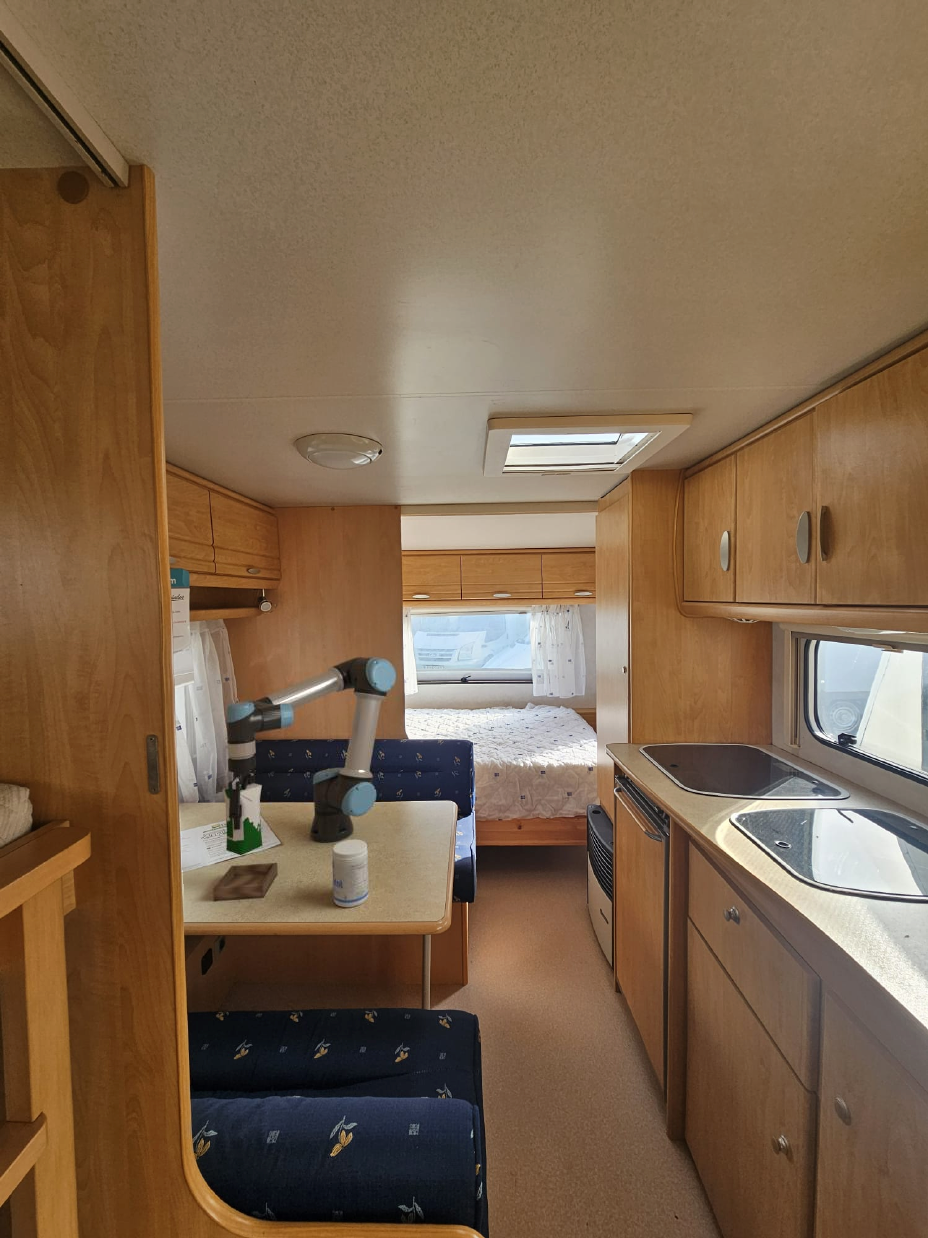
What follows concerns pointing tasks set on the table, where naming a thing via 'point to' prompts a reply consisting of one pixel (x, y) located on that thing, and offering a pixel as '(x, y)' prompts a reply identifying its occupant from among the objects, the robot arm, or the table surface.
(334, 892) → the supplement tub
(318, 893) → the table surface
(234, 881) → the tray
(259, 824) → the soya milk
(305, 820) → the table surface
